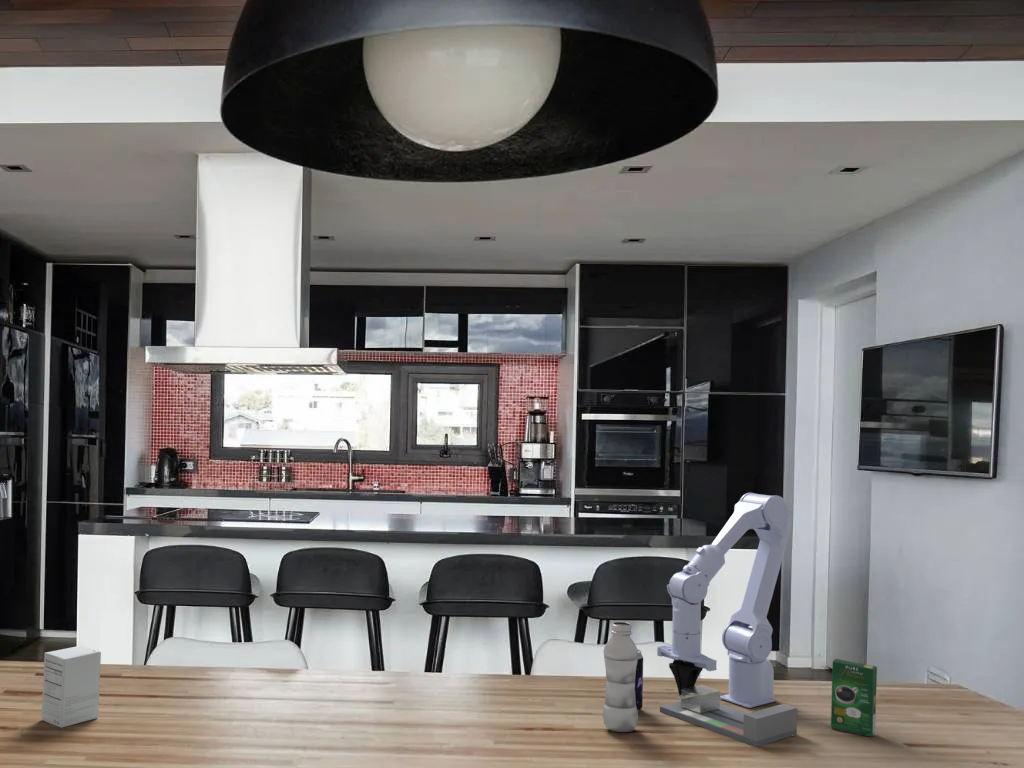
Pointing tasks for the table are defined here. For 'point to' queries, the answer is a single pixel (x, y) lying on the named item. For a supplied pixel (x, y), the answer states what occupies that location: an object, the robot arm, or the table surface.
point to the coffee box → (853, 697)
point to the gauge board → (742, 722)
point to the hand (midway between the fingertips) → (685, 698)
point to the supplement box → (71, 686)
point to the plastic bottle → (620, 680)
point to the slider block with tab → (700, 698)
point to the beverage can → (639, 681)
